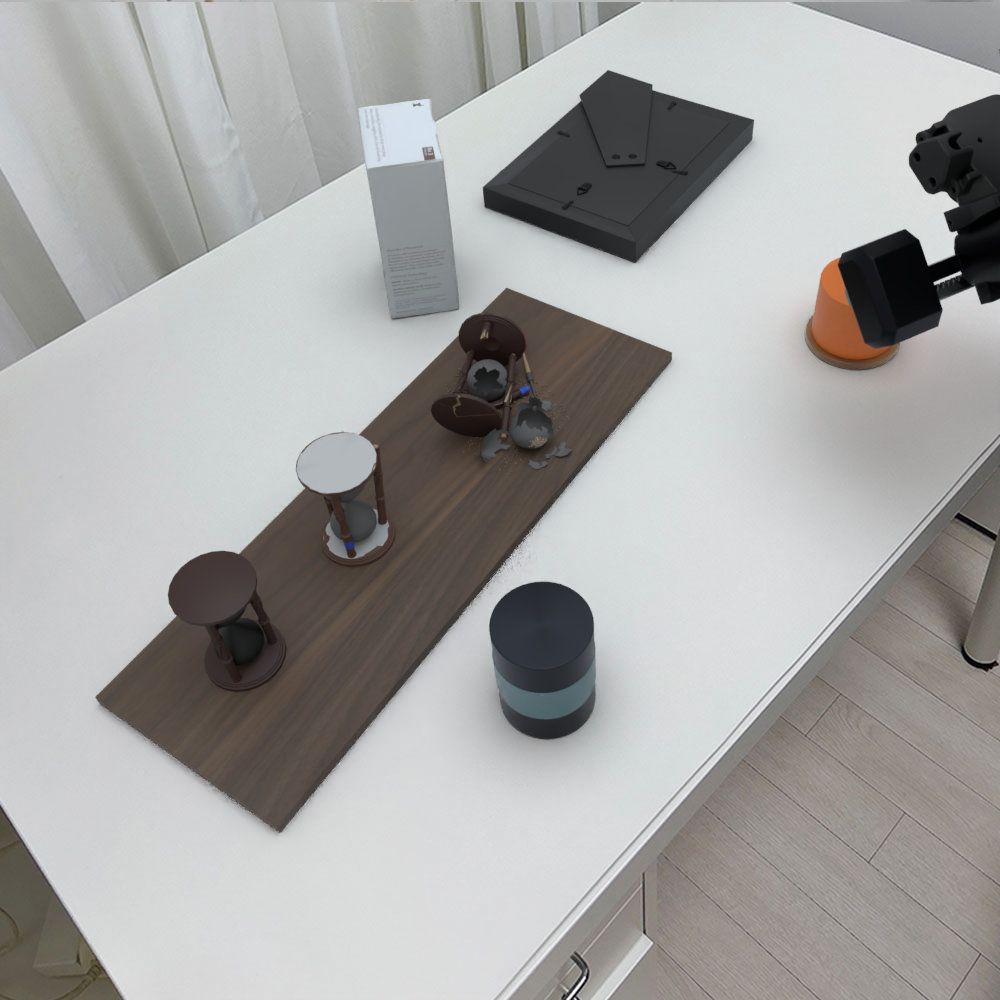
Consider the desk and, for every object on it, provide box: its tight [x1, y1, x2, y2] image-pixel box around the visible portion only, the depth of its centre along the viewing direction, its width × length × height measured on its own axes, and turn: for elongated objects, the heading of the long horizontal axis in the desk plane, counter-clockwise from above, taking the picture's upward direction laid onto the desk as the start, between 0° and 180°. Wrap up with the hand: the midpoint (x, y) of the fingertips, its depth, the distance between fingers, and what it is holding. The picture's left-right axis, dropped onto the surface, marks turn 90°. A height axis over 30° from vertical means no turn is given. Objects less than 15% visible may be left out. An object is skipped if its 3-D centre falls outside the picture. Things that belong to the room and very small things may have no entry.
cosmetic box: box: [357, 98, 460, 319], centre depth 87 cm, size 8×6×15 cm
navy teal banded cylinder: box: [488, 581, 597, 740], centre depth 64 cm, size 6×6×8 cm
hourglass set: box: [94, 287, 673, 834], centre depth 74 cm, size 15×45×8 cm, turn 145°
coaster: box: [804, 313, 901, 371], centre depth 85 cm, size 7×7×1 cm
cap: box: [811, 256, 891, 360], centre depth 82 cm, size 6×6×5 cm
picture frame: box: [482, 69, 755, 263], centre depth 100 cm, size 16×3×21 cm
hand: (903, 274), depth 76 cm, fingers open, 9 cm apart
